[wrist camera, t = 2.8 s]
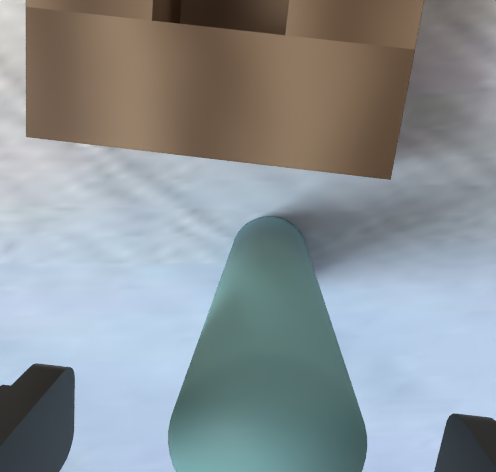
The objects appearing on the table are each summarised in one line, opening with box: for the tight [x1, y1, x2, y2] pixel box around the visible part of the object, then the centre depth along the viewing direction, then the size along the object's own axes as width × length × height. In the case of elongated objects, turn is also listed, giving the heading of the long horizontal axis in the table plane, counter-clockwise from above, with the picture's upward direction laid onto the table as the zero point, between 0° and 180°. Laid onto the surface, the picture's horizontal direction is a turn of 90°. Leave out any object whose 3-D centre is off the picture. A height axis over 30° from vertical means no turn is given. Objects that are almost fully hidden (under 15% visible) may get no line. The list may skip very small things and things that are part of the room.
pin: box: [168, 217, 367, 472], centre depth 16 cm, size 4×4×15 cm
